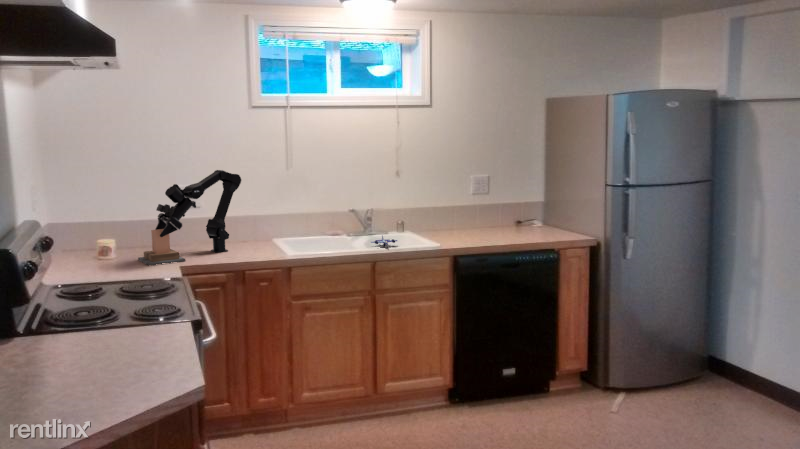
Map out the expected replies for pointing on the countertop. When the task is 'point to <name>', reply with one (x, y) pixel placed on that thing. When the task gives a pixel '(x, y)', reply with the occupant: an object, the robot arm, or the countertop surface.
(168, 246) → the terracotta brick
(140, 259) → the tower base
